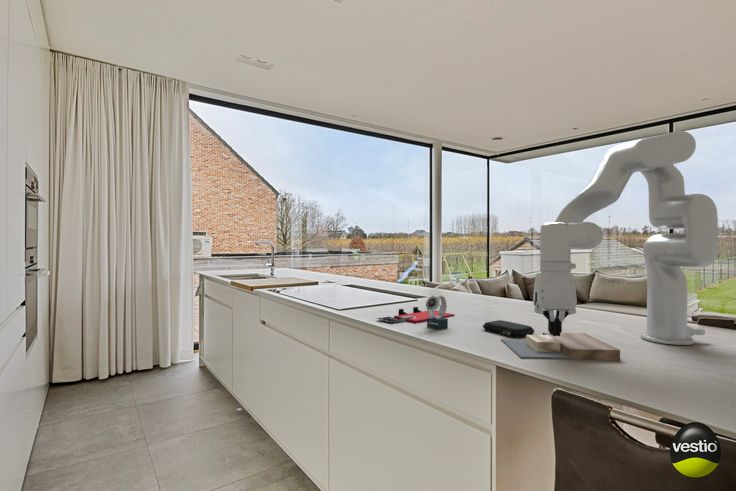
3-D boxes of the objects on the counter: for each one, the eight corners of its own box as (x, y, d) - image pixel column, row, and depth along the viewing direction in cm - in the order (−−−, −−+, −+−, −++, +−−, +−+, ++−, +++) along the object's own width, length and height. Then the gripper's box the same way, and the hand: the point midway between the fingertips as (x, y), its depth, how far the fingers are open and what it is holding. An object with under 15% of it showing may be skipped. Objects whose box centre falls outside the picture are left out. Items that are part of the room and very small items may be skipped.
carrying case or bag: (477, 331, 130) (515, 340, 117) (477, 322, 130) (515, 330, 117) (499, 327, 135) (537, 336, 123) (499, 318, 135) (537, 326, 123)
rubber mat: (542, 340, 115) (542, 339, 115) (570, 359, 97) (570, 357, 97) (501, 340, 116) (501, 339, 116) (520, 358, 98) (520, 356, 98)
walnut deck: (584, 341, 115) (584, 333, 115) (620, 359, 97) (620, 349, 97) (542, 340, 115) (542, 332, 115) (570, 359, 97) (570, 349, 97)
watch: (423, 327, 134) (423, 295, 134) (438, 324, 139) (438, 293, 139) (436, 330, 129) (436, 297, 129) (451, 327, 135) (451, 295, 135)
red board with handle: (372, 320, 147) (400, 327, 136) (372, 312, 147) (400, 319, 136) (426, 312, 166) (454, 318, 155) (426, 305, 166) (454, 310, 155)
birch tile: (547, 343, 110) (547, 335, 110) (560, 351, 102) (560, 342, 102) (526, 343, 111) (526, 334, 111) (537, 351, 103) (537, 342, 103)
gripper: (576, 267, 109) (576, 332, 110) (522, 266, 110) (522, 331, 110) (590, 268, 102) (590, 339, 102) (531, 268, 103) (531, 338, 103)
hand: (554, 335), depth 106 cm, fingers closed
